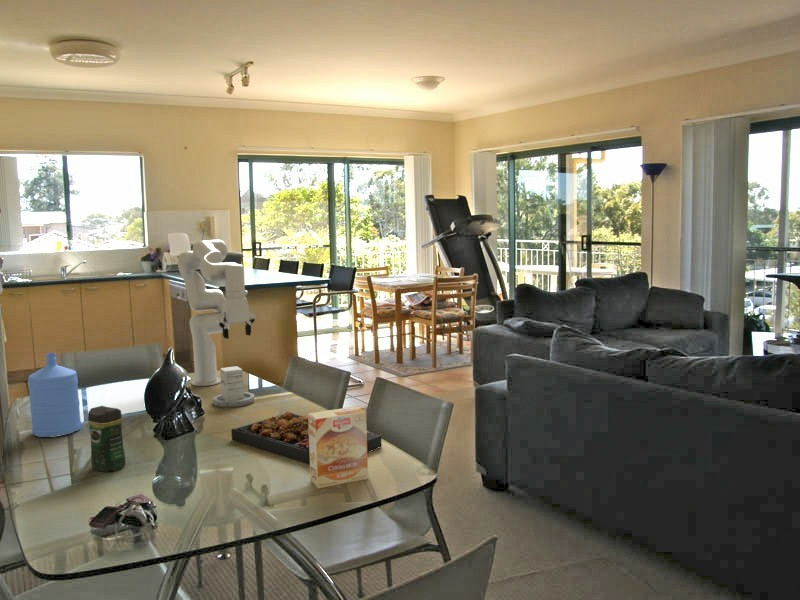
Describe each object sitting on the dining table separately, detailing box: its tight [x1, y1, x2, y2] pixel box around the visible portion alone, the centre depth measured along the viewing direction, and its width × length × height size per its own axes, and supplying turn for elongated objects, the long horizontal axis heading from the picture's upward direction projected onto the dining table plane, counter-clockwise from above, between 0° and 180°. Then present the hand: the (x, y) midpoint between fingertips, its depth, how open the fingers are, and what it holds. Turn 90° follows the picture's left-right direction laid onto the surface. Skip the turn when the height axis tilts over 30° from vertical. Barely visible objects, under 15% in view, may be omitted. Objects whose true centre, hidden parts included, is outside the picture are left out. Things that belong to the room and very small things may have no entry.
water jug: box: [27, 352, 82, 438], centre depth 249 cm, size 16×16×28 cm
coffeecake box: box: [307, 405, 369, 489], centre depth 196 cm, size 15×7×20 cm, turn 115°
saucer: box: [212, 391, 255, 409], centre depth 285 cm, size 16×16×2 cm
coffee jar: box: [87, 405, 126, 472], centre depth 211 cm, size 10×8×19 cm
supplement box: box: [219, 365, 245, 401], centre depth 284 cm, size 7×7×13 cm
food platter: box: [230, 411, 382, 466], centre depth 230 cm, size 45×25×10 cm, turn 49°
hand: (237, 336), depth 287 cm, fingers open, 9 cm apart
